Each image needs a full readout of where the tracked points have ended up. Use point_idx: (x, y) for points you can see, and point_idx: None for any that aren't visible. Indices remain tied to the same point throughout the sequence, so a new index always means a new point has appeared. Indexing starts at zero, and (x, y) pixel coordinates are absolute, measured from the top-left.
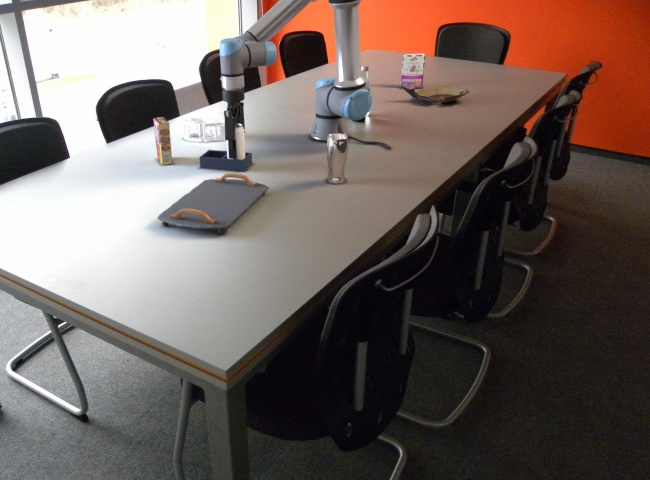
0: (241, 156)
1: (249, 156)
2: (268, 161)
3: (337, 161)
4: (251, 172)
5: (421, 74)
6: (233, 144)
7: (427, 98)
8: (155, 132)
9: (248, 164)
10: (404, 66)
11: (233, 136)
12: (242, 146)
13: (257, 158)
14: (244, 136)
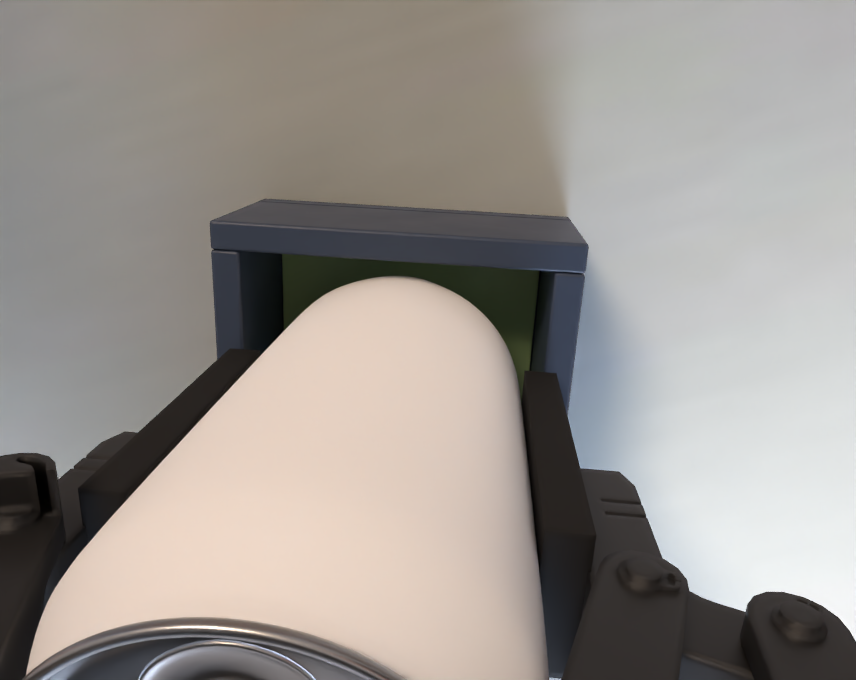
0: (470, 317)
1: (330, 224)
2: (113, 6)
3: None
4: (580, 117)
5: None
6: (592, 518)
7: None
8: None
9: (403, 212)
10: None
11: (685, 633)
12: (435, 353)
13: (52, 190)
14: (274, 403)
